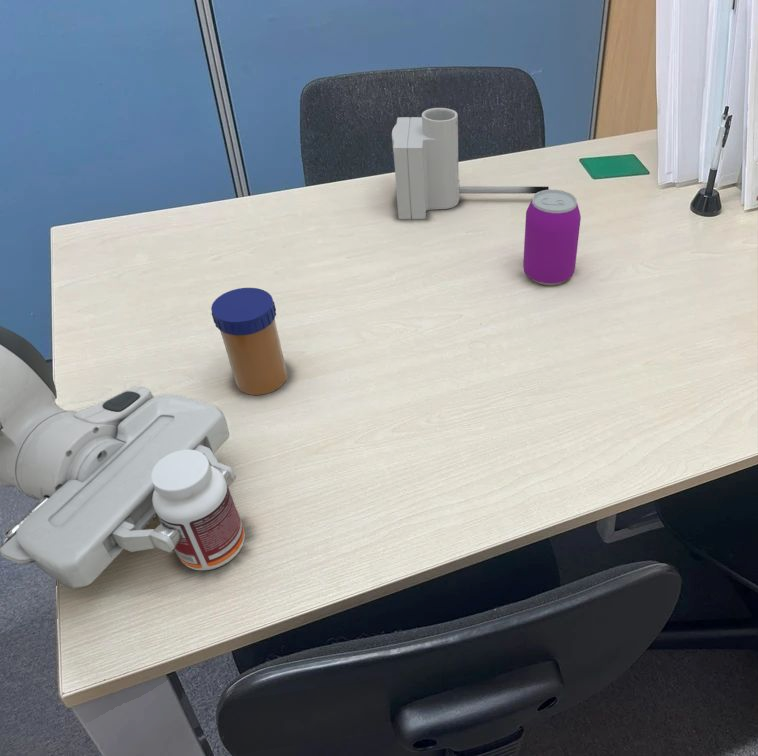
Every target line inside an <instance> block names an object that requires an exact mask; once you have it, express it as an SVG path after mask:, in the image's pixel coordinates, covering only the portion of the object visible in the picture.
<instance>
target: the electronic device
mask: <svg viewBox="0 0 758 756" xmlns="http://www.w3.org/2000/svg"><path fill="white" fill-rule="evenodd" d="M458 115H459V114H458V112H457V111H456V110H454V109H451V108H449V107H447V108H446V107H433V108H427V109H425V110H424V111H423V112H422V113H421V117H419V116H416V117H415V116H411V117H410V116H406V117H403V116H398V117H397V118H396V123H395V125H394V127H393V128H392V131H391V143H392V144H391V145H392V151H393V152H392V153H393V162H394V177H395V196H396V206H397V215H398V220H426V218H427V211H430V210H448V209H452V208H455V207H456V206H457V205H459V202H460V195H461V194H462V195H465V194H471V195H472V194H473V195H475V194H479V195H480V194H482V195H483V194H484V195H485V194H487V195H489V194H490V195H491V194H494V195H495V194H496V195H497V194H498V195H500V194H503V195H504V194H513V195H514V194H515V195H516V194H519V195H521V194H525V195H527V194H528V195H529V194H533V195H534V194H536V193H538V192H540V191H543V190H550V189H549V188H550V187H549V186H493V185H492V186H486V185H485V186H483V185H482V186H481V185H480V186H477V185H476V186H474V185H473V186H471V185H470V186H469V185H468V186H461V185H460V179H459V119H458V117H459V116H458Z"/></svg>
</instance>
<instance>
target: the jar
mask: <svg viewBox="0 0 758 756" xmlns="http://www.w3.org/2000/svg"><path fill="white" fill-rule="evenodd" d="M219 332H220V335H221V338H222V341H223V345H224V348H225V351H226V355H227V358H228V361H229V364H230V368H231V371H232V375H233V378H234V382H235V384H236V388H237V389H238V390H239V391H240V392H242V393H243V394H245V395H246V394H247V395H251V396H263V395H267V394H271V393H273V392H276V391H277V390H279V389H280V388H281V387H282V386H283V385H284V384H285V383H286V381H287V379H288V371H287V368H286V363H285V358H284V353H283V349H282V345H281V340H280V337H279V331H278V328H277V323H276V319H275V320H274V321H273V322H272V323H271V324H270V325H269V326H268V327H266V328H265V329H263V330H261V331H259V332H256V333H252V334H248V335H230V334H227V333H224V332H222V331H220V330H219Z"/></svg>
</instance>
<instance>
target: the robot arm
mask: <svg viewBox="0 0 758 756" xmlns="http://www.w3.org/2000/svg"><path fill="white" fill-rule="evenodd" d="M56 399H58V394H57V387H56V385H55V381H54V377H53V374H52V371H51V369H50V365H49V364H48V362H47V360H46V358H45V357H44V355H43V354H42V353H41V352H40V351H39V349H37V348H36V347H35V346H34V345H33V344H32V343H31V342H30V341H28V340H27V338H24V337H22V336H21V335H19V334H18V333H16V332H14V331H12V330H11V329H8V328H7V327H4V326H1V325H0V486H2V487H13V488H16V489H17V490H19V492H20V493H22V494H24V495H25V496H27V497H29V498H32V499H34V500H35V501H37V503H35V504H34V505H33V506H32V507H31V508H30V509H28V511H27V512H26V513H25V515H23V516H22V517H21V518H20V519H19V520H18V521H17V522H14V523H13V524H12V525H10V527H8V529H7V530H6V531H5V532H4V533H3V540H2V542H1V544H0V554H1V557H2V558H5V559H7V560H9V561H11V562H14V563H16V564H18V565H32V564H34V565H35V566H37V568H38V569H40V570H41V571H42V572H44V573H45V574H46V575H48V576H50V577H51V578H53V579H54V580H56V581H58V582H59V583H61V584H63V585H64V586H67V587H69V588H73V589H77V588H82V587H85V586H90V585H91V584H92V583H93V582H94V581H95V580H96V579H97V578H98V577H99V576H100V575H101V574H102V573H103V572H104V571H105V569H107V567H108V566H109V565H110V564H111V563H112V562H113V561H114V560H115V559H116V558H117V557H118V556H119V555H120V554H121V553H122V552H123V551H124V550H125V551H128V552H130V553H134V552H140V551H147V550H153V549H156V548H157V549H159V550H162V551H164V552H167V553H172V552H173V551H174V548H175V547H176V546H177V545H178V543H179V542H180V541H181V540H182V536H180V532H179V530H178V529H176V528H175V527H168V525H166V524H164V523H162V522H161V521H160V523H159V524H158V525H157V526H156V527H155V528H149V529H144V528H145V527H146V526H148V524H149V523H150V522H151V521H152V520H153V519H154V518H155V517H156V516H157V513H156V511H155V509H154V506H153V502H152V498H153V493H154V490H155V488H154V486H153V483H152V480H151V473H152V470H153V468H154V466H155V465H156V464H157V463H158V462H159V461H160V460H161V459H162V458H164V457H165V456H167V455H169V454H171V453H173V452H176V451H180V450H196V451H199V452H201V453H202V454H204V455H205V456H206V457H207V459H208V461H209V463H210V466H212V467H214V468H216V469H218V470H219V471H220V472H221V473H222V475H223V476H224V478H225V480H226V483H227V485H228V488H229V487H230V486H231V485H232V484H233V482H234V481H235V480H236V479H237V476H236V475H237V474H236V472H235V469H233V467H231V466H229V465H226V464H223V463H221V462H219V461H218V459H217V457H216V456H215V453H216V452H217V451H218V450H219V449H220V448H221V447H222V446H223V444H224V443H225V442H227V441H228V439H229V438H230V431H229V427H228V422H227V419H226V417H225V415H224V412H223V411H222V410H221V408H219V407H218V406H216V405H214V404H212V403H208V402H206V401H203V400H199V399H195V398H192V397H187V396H183V395H180V394H179V395H178V394H172V393H169V394H160V395H156V396H154V395H153V392H151V390H150V389H149V388H147V387H146V386H142V385H135V386H132V387H130V388H127V389H126V390H124V391H122V392H120V393H118V394H116V395H114V396H113V397H110V398H108V399H106V400H104V401H101V402H100V403H97V404H95V405H91V406H88V407H86V408H83V409H81V410H78V411H76V410H66V409H64V408H62V407H61V406H60V405H58V404H57V403H56Z"/></svg>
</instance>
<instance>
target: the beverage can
mask: <svg viewBox="0 0 758 756" xmlns="http://www.w3.org/2000/svg"><path fill="white" fill-rule="evenodd" d="M581 219H582V216H581V212H580V208H579V205H578V201H577V198H576V196H574V194H572V193H571V192H568V191H565V190H560V189H549V190H543V191H540V192H538V193H536V194H533V196H532V197H531V201H530V203H529V205H528V207H527V209H526V211H525V225H524V241H523V243H524V244H523V259H522V260H523V262H522V263H523V272H524V274H525V275H526V276H527V277H528V278H529V279H530V280H532V281H533V282H534V283H537V284H539V285H544V286H556V285H561V284H563V283H565V282H567V281H569V280H570V279H571V278H572V277H573V275H574V273H575V269H576V264H577V263H576V262H577V254H578V245H579V236H580V228H581Z"/></svg>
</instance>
